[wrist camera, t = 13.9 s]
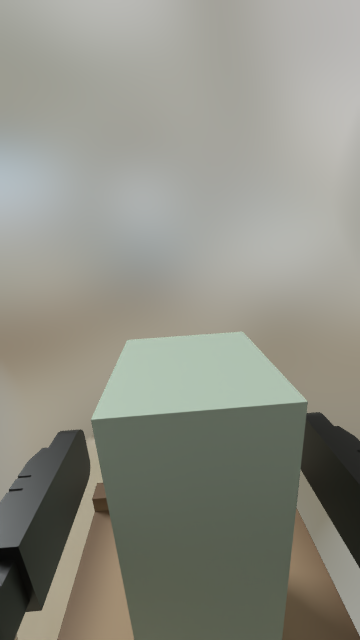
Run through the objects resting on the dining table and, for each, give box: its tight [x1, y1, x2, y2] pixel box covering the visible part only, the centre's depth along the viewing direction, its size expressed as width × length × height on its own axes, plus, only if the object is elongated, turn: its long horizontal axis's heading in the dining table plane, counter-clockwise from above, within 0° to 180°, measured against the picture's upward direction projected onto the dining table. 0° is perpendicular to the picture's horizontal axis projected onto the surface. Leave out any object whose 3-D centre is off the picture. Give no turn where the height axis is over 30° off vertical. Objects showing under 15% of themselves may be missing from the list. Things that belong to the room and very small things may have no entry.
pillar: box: [91, 332, 308, 640], centre depth 8 cm, size 4×4×12 cm
